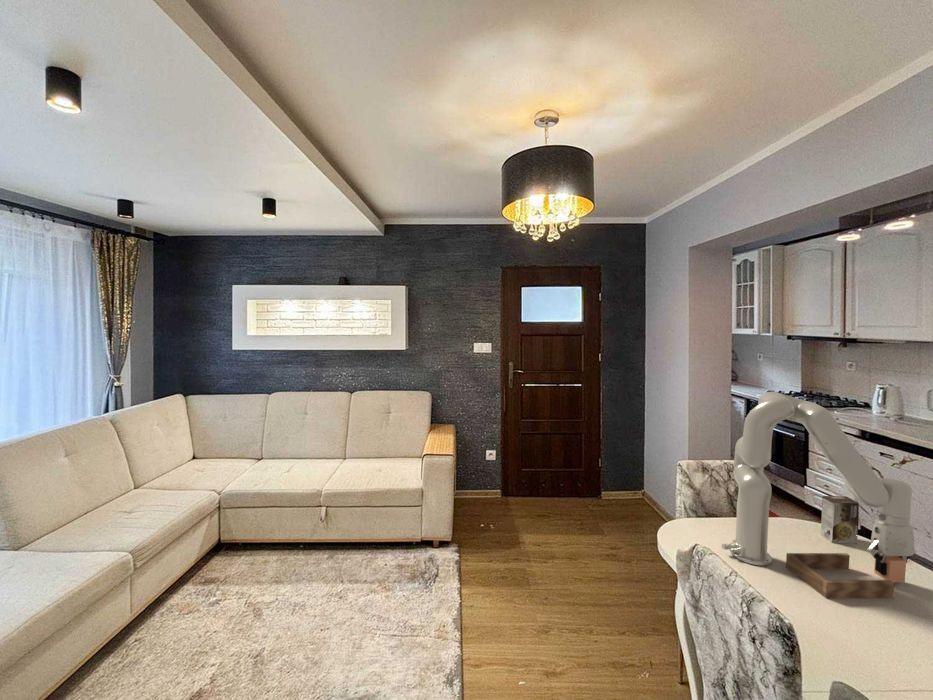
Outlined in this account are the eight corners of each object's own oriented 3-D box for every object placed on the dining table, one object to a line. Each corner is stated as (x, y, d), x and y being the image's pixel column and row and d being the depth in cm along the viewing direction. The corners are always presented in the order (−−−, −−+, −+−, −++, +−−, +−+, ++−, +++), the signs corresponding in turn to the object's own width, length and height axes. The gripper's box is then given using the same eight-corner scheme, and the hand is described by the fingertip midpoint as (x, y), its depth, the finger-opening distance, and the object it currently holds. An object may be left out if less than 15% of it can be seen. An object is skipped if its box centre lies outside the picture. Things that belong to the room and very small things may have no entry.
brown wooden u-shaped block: (825, 598, 130) (826, 582, 130) (785, 567, 146) (786, 553, 146) (893, 598, 130) (894, 582, 129) (845, 567, 146) (846, 553, 146)
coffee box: (844, 535, 168) (846, 496, 166) (857, 544, 161) (860, 503, 160) (819, 534, 168) (821, 495, 167) (831, 543, 162) (834, 502, 161)
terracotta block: (889, 581, 135) (890, 560, 135) (874, 572, 140) (875, 552, 140) (904, 581, 135) (906, 560, 135) (889, 572, 140) (890, 552, 140)
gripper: (877, 524, 133) (874, 579, 134) (932, 524, 133) (928, 579, 134) (855, 513, 140) (852, 566, 142) (907, 513, 140) (903, 566, 141)
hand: (889, 572), depth 138 cm, fingers closed on terracotta block, 5 cm apart
